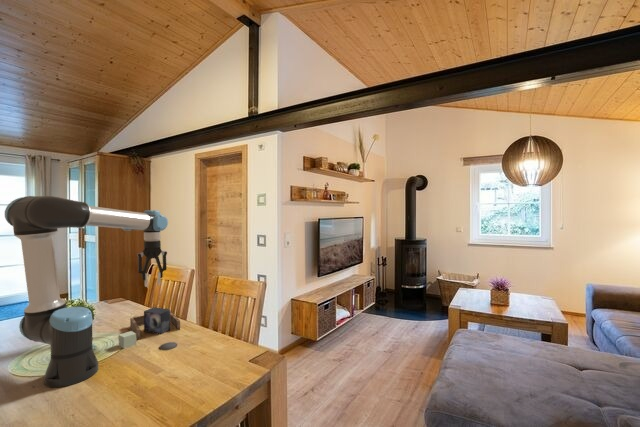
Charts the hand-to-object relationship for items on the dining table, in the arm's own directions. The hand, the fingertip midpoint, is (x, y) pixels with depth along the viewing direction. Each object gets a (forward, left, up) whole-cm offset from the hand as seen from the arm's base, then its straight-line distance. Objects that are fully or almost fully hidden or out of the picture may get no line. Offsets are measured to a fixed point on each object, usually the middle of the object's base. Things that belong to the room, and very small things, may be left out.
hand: (152, 285), depth 156 cm
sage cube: (-18, +14, -21) cm, 31 cm away
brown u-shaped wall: (-4, 0, -21) cm, 21 cm away
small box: (-9, 0, -21) cm, 23 cm away
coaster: (-31, 0, -21) cm, 37 cm away
